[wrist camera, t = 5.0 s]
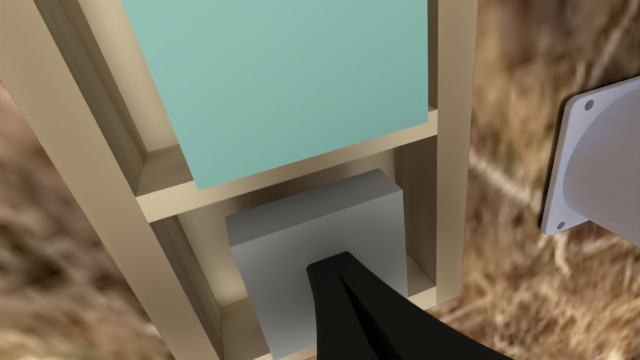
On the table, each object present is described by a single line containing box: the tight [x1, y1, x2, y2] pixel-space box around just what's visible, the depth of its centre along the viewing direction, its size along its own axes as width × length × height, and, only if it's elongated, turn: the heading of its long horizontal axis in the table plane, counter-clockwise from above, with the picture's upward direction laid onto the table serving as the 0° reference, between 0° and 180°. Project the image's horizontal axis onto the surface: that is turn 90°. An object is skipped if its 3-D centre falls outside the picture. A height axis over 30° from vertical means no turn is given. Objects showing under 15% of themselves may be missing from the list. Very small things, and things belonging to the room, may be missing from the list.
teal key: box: [121, 0, 428, 191], centre depth 7 cm, size 5×5×3 cm
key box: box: [0, 0, 478, 360], centre depth 9 cm, size 11×24×3 cm, turn 10°
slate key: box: [225, 168, 408, 360], centre depth 12 cm, size 5×5×3 cm
